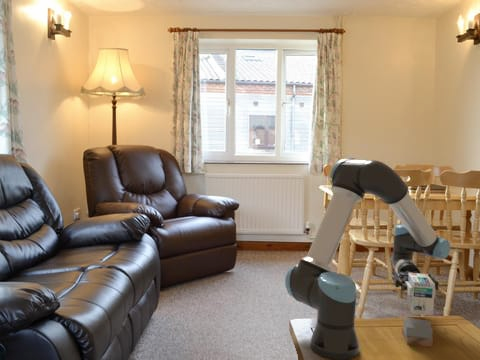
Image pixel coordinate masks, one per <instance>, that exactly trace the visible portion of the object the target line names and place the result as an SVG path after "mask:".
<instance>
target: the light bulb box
mask: <svg viewBox="0 0 480 360" xmlns="http://www.w3.org/2000/svg"><path fill="white" fill-rule="evenodd" d="M428 274H429V273H421V274H418V273H408V283H409V284H410V286H411V287H412V295H411V296H409V295H408V293H407V292H406V293H407V296H406V304H407V305H408V307H409V309H410V312H411V314H414V315H425V316H434V305H435V297H434V293H435V283H434V282H433V281H432V280H431V278H430V277H429V275H428Z"/></svg>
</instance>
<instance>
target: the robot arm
mask: <svg viewBox="0 0 480 360" xmlns="http://www.w3.org/2000/svg"><path fill="white" fill-rule="evenodd" d="M329 178H330V183H331V188H330V190H331V192H332V196H331V198H330V200H329V203H328V206H327V208H326V210H325V212H324V215H323V216H322V217H323V218H322V219H321V222H320V224H319V226H318V229H317V231H316V234H315V236H314V238H313V241H312V243H311V245H310V248H309V250H308V252H307V255H306V256H303V257H301V258H300V259H299V263H297V264H295V265H293V266H291V267H290V268H289V269H288V270H287V273H286V274H285V279H284V281H285V282H284V283H285V285H284V286H285V288H286V292H287V293H288V295H289V296H290V297H292V298H293V299H295V300H296V301H297V302H300V303H302V304H304V305H306V306H308V307H310V308H312V309H314V310H316V312H317V315H316V318H317V319H316V325H315V328H314V330H313V332H312V336H311V338H310V349H311V350H312V351H313V352H314V353H315V354H317V355H318V356H320V357H323V358H326V359H330V360H349V359H353V358H356V357H357V356H358V355H359V352H360V342H359V340H358V335H357V332H356V329H355V320H356V319H355V318H356V305H357V288H356V287H357V286H356V283H355V281H354V280H353V278H351V277H350V276H348V275H346V274H343V273H340V272H339V273H338V272H335V271H332V268H331V265H332V262H333V260H334V258H335V255H336V253H337V250H338V248H339V245H340V243H341V240H342V239H343V236H344V234H345V231H346V229H347V226H348V225H349V222H350V219H351V216H352V215H353V212H354V209H355V207H356V204H358V203H360V202H362V201H363V200H364V197H365V194H368V195H372V196H375V197H378V198H379V199H380V200H381V202H382V203H383V204H385V205H388V206H389V207H390V209H391V210H392V212H393V213H394V215H396V217H397V219H398V220H399V221H400V222H401V224H396V225H395V226H394V231H393V232H394V234H393V246H392V247H393V250H392V256H391V257H390V264H391V266H392V269H393V270H394V271H392V272H391V274H392V275H391V279H392V280H393V282H394V286H395V288H400V290H401V291H406V293H408V295H409V296H411V295H412V287H411V286H410V284H409V283H408V273H418V274H422V273H421V271H420V269H419V268H418V267H417V265H416V264H415V262H414V253H416V254H420V255H422V256H423V255H424V256H427V257H430V258H433V259H439V260H444V259H446V258H448V256H449V255H450V253H451V243H450V241H449V240H447V239H445V238H444V237H439V236H438V234H437V233H436V232H435V230H434V228H433V227H432V225H431V224H430V223H429V222H428V220H427V218H426V216H425V215H424V214H423V213H422V211H421V210H420V208H419V206H418V205H417V204H416V202H415V201H414V199H413V197H412V196H411V195H410V193H409V187H408V186H407V185H408V184H406V182H405V181H404V180H403V178H402V177H401V176H400V175H399V174H398V173H397V172H396V171H395V170H394V169H393V168H391V167H390V166H389V165H387V164H385V162H382V161H381V160H374V159H372V160H371V159H359V158H353V157H351V158H349V157H348V158H343V159H339V160H338V161H336V162H335V164H334V165H333V166H332V168H331V170H330V173H329ZM427 274H428V275H429V277H430V278H431V280H432V281H433V282H434V283H435V293H434V298H436V294H437V291H439V287H440V286H439V281H437V280H436V279H435V278H434V277H432V274H430V273H427Z"/></svg>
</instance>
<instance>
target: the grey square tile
mask: <svg viewBox="0 0 480 360" xmlns="http://www.w3.org/2000/svg"><path fill="white" fill-rule="evenodd" d="M403 327H404V329H405V333H406V336H411V337H419V338H427V339H432V338H433V334H434V333H433V332H434V329H433V327H432V325H431V323H430V320H427V319H420V318H419V319H418V318H417V319H416V318H410V317H409V318H407V317H404V318H403Z"/></svg>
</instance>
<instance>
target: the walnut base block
mask: <svg viewBox="0 0 480 360" xmlns="http://www.w3.org/2000/svg"><path fill="white" fill-rule="evenodd" d="M401 335H402V338H403V339H404V341H405V343H406V345H408V346H409V345H411V346H413V345H415V346H423V347H424V346H426V347H433V346H434V345H433V343H434V338H433V337H432V339H427V338H419V337H411V336H406V333H405V329H404V326H402V327H401Z"/></svg>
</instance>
